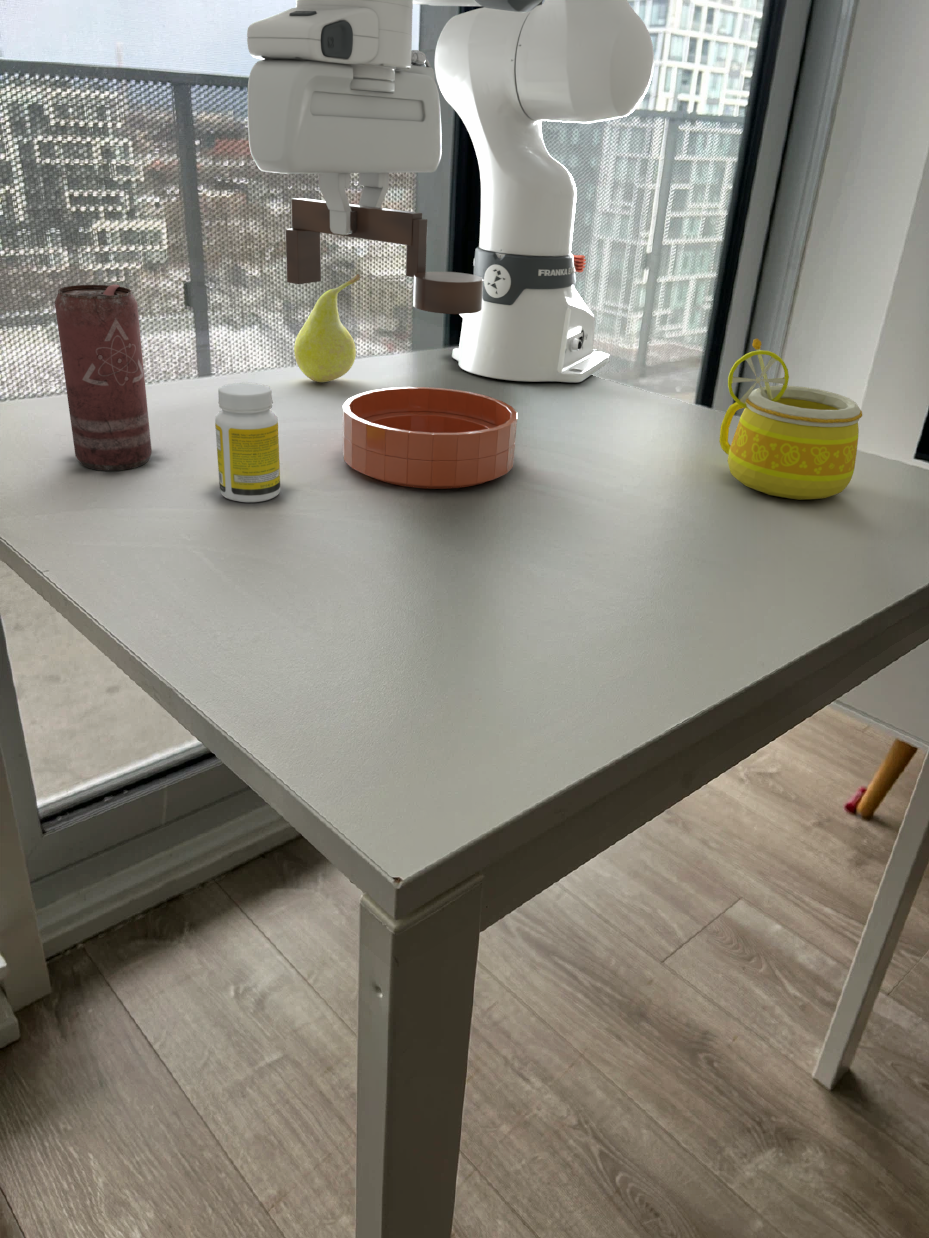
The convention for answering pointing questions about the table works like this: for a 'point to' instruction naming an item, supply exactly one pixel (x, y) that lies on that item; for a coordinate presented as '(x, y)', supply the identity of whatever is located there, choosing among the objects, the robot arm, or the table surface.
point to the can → (104, 375)
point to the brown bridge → (386, 226)
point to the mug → (790, 436)
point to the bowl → (428, 436)
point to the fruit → (325, 340)
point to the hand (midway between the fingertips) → (354, 233)
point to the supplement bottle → (247, 443)
